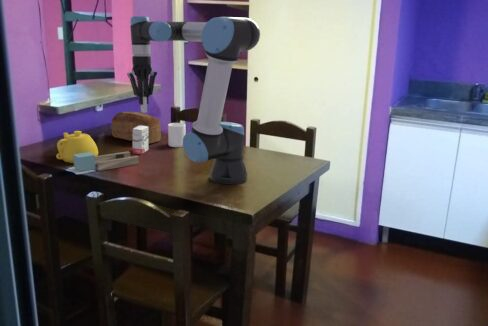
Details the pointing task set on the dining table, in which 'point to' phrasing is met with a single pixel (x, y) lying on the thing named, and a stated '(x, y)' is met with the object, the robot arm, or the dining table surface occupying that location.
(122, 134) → the bread
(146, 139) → the ink box
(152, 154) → the dining table surface
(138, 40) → the robot arm
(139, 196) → the dining table surface
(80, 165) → the block
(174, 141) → the mug
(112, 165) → the chute
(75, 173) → the pad
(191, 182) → the dining table surface
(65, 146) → the teapot
